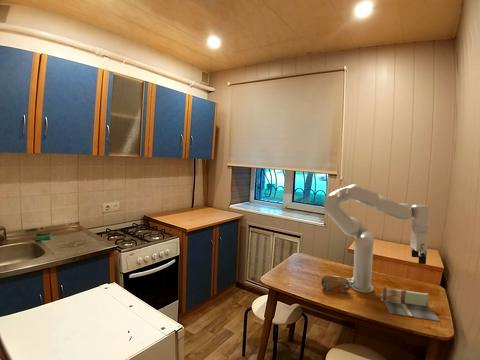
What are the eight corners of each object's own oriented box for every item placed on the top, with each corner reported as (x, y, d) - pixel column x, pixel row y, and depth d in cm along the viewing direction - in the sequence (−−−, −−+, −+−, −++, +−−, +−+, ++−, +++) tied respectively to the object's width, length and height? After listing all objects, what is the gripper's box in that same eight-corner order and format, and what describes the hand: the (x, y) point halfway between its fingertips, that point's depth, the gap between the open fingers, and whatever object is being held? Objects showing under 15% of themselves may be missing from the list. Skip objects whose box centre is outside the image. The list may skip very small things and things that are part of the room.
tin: (321, 289, 153) (321, 274, 152) (321, 286, 156) (322, 272, 155) (349, 294, 148) (350, 279, 147) (349, 291, 151) (350, 277, 150)
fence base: (386, 313, 130) (387, 299, 130) (378, 293, 148) (379, 281, 148) (439, 321, 124) (441, 307, 123) (424, 300, 142) (425, 287, 142)
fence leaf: (406, 303, 138) (406, 291, 137) (405, 301, 139) (406, 290, 139) (428, 306, 135) (429, 294, 134) (427, 305, 136) (428, 293, 136)
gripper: (405, 224, 149) (404, 254, 150) (417, 232, 132) (416, 266, 133) (421, 224, 147) (420, 255, 148) (435, 233, 130) (433, 267, 131)
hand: (418, 260), depth 141 cm, fingers open, 9 cm apart
